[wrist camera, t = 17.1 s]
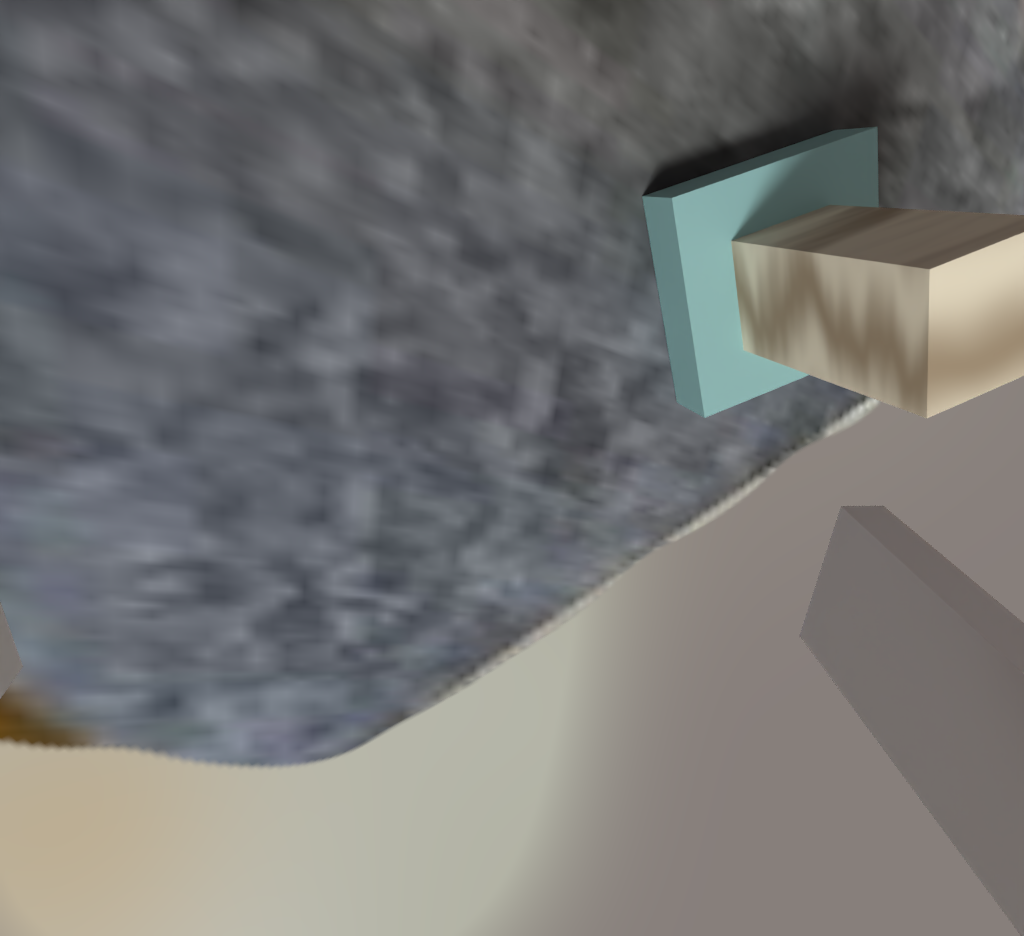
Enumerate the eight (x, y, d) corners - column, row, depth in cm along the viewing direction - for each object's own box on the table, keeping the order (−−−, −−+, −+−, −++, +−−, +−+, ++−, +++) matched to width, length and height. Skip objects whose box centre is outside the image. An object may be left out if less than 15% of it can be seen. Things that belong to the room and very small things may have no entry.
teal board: (642, 196, 36) (671, 197, 33) (835, 130, 38) (877, 126, 35) (677, 402, 41) (704, 417, 38) (843, 334, 43) (880, 345, 40)
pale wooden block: (730, 240, 35) (929, 269, 24) (829, 204, 36) (1061, 217, 25) (743, 350, 38) (926, 418, 27) (834, 314, 39) (1045, 366, 28)
